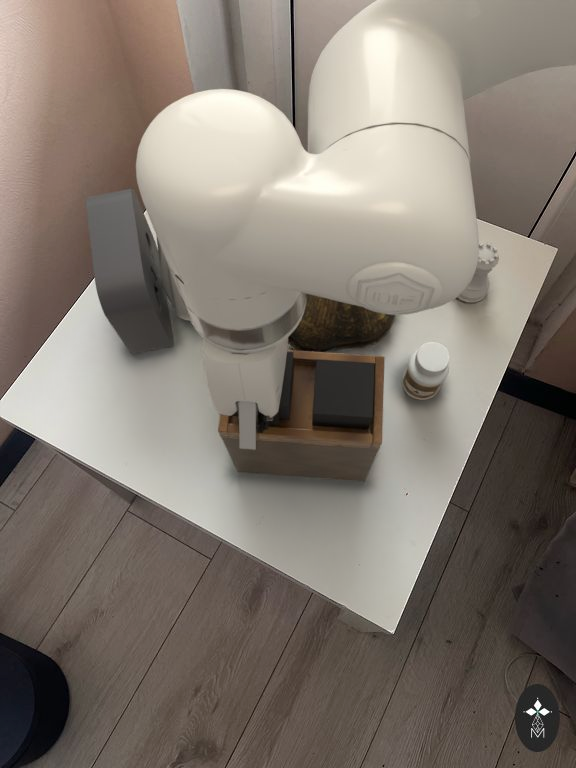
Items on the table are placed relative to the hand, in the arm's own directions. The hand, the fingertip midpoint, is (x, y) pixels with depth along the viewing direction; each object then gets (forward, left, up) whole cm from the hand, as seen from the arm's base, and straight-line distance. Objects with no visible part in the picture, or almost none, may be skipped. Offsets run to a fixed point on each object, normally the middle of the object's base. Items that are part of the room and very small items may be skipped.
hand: (264, 389), depth 54 cm
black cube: (0, 0, 0) cm, 0 cm away
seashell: (-5, -15, -16) cm, 23 cm away
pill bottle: (-16, -8, -16) cm, 25 cm away
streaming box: (+20, -15, -9) cm, 26 cm away
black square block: (-7, 0, -2) cm, 7 cm away
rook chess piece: (-22, -21, -16) cm, 35 cm away
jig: (-3, 0, -16) cm, 16 cm away
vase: (+8, -18, -16) cm, 26 cm away
